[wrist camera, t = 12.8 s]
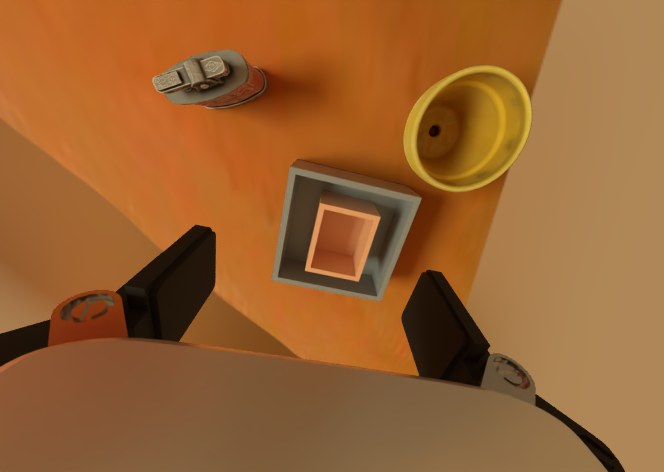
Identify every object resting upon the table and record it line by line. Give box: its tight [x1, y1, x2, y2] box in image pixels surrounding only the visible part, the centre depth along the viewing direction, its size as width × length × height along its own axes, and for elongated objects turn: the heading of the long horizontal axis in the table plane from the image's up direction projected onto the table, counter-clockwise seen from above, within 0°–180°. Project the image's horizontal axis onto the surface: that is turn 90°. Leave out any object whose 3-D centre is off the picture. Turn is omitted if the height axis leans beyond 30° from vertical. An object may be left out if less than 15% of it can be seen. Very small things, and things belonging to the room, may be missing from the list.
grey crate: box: [272, 159, 422, 302], centre depth 33 cm, size 15×15×6 cm
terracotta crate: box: [305, 190, 381, 282], centre depth 32 cm, size 9×7×6 cm
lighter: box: [153, 50, 268, 109], centre depth 24 cm, size 8×3×10 cm, turn 105°
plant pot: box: [404, 65, 532, 192], centre depth 26 cm, size 10×10×10 cm
